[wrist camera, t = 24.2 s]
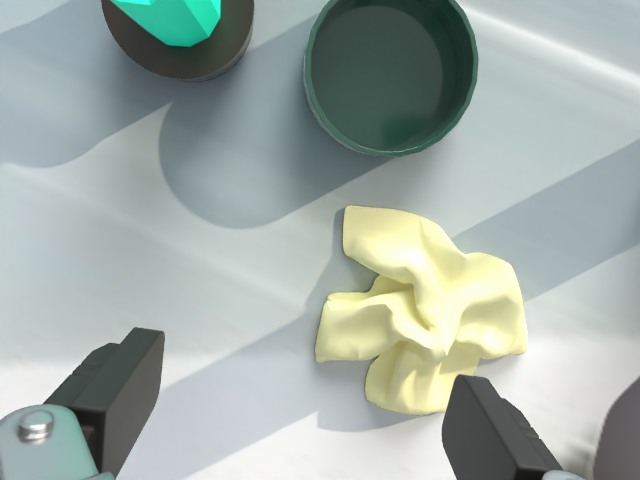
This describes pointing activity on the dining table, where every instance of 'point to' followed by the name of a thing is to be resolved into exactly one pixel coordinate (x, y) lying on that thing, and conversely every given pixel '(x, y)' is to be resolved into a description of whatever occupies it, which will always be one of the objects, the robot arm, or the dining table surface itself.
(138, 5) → the candle
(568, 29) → the dining table surface
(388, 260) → the cloth
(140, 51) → the stand
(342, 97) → the tin
